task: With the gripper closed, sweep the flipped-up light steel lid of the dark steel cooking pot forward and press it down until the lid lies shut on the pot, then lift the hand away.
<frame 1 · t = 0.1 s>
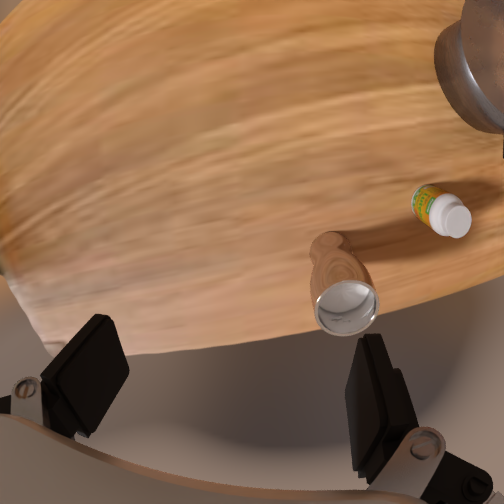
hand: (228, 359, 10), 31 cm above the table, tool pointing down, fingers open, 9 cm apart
cooking pot: (481, 76, 27), on the table
beer glass: (330, 251, 41), on the table
supplement bottle: (425, 202, 36), on the table
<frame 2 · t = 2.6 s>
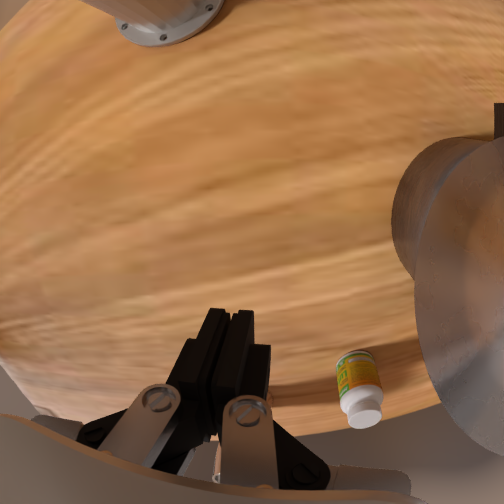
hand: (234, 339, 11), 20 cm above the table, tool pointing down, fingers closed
cooking pot: (459, 217, 27), on the table
supplement bottle: (354, 362, 36), on the table
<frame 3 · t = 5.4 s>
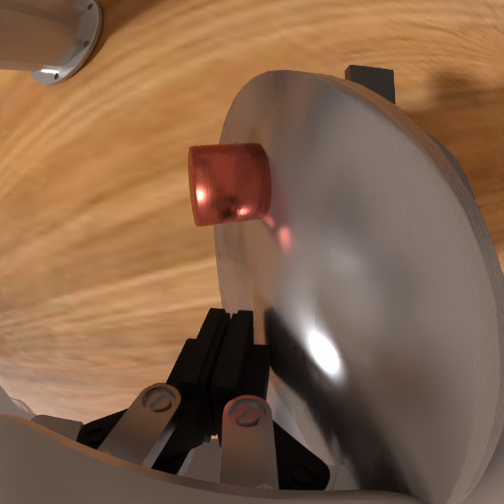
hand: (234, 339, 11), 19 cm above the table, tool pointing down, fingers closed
cooker lid: (251, 340, 11), point 19 cm above the table, hinge at 65.3°, touching gripper
cooking pot: (346, 215, 28), on the table
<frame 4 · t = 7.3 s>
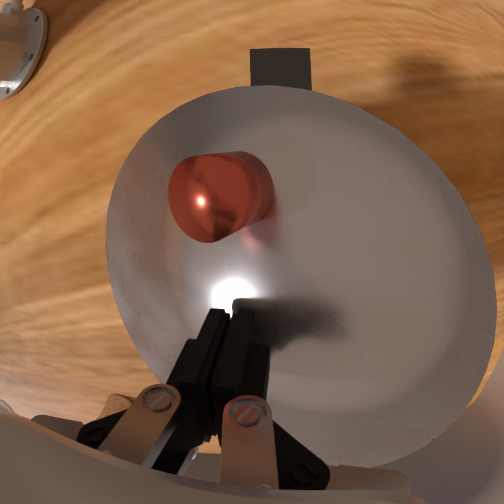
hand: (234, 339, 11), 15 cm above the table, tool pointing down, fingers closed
cooker lid: (240, 346, 11), point 15 cm above the table, hinge at 22.4°, touching gripper
cooking pot: (286, 230, 25), on the table
beer glass: (125, 405, 39), on the table
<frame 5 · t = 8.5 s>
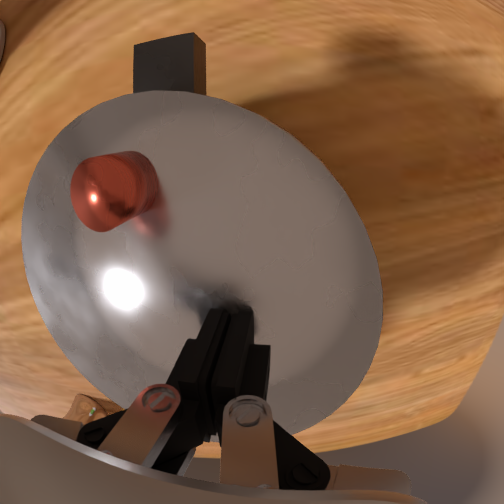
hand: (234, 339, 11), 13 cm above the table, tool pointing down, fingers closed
cooker lid: (149, 327, 12), point 12 cm above the table, hinge at 5.1°
cooking pot: (218, 233, 23), on the table
beer glass: (91, 406, 37), on the table
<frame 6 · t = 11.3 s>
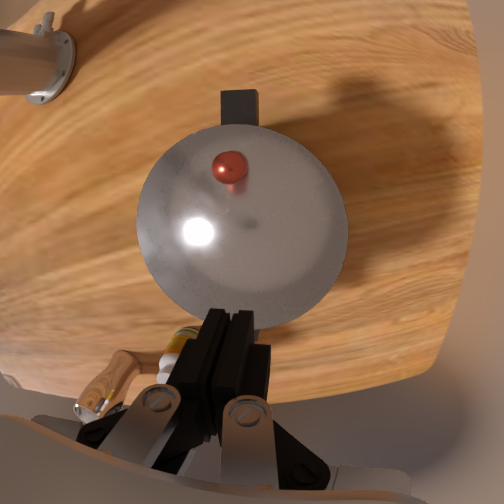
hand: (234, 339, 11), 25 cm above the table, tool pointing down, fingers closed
cooker lid: (234, 239, 24), point 12 cm above the table, hinge at 0.6°
cooking pot: (253, 207, 35), on the table
beer glass: (127, 361, 49), on the table
supplement bottle: (191, 339, 44), on the table
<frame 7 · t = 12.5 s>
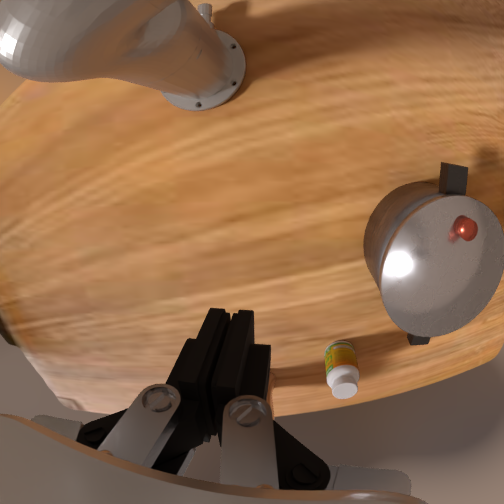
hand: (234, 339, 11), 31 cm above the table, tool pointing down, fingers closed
cooker lid: (452, 275, 29), point 12 cm above the table, hinge at 0.6°
cooking pot: (418, 241, 39), on the table
supplement bottle: (339, 350, 49), on the table
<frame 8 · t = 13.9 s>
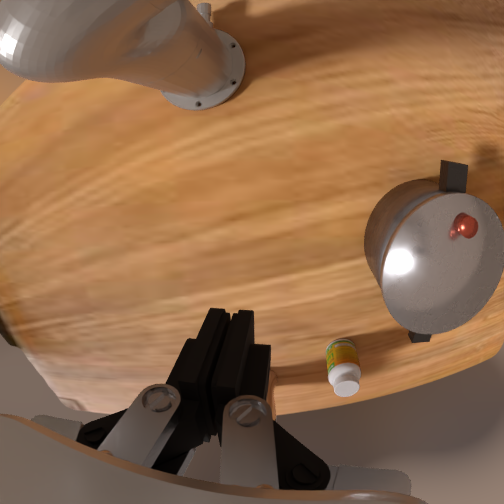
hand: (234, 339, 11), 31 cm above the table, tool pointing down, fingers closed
cooker lid: (453, 272, 29), point 12 cm above the table, hinge at 0.6°
cooking pot: (418, 238, 39), on the table
beer glass: (261, 377, 53), on the table
supplement bottle: (340, 348, 49), on the table
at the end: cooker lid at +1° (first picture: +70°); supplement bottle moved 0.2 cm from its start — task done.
